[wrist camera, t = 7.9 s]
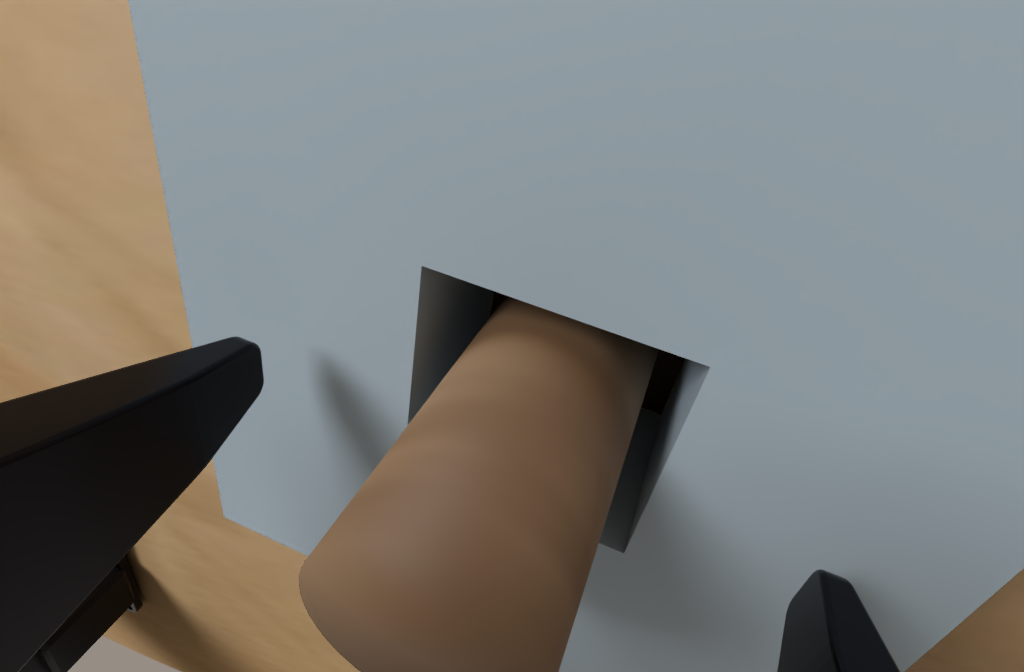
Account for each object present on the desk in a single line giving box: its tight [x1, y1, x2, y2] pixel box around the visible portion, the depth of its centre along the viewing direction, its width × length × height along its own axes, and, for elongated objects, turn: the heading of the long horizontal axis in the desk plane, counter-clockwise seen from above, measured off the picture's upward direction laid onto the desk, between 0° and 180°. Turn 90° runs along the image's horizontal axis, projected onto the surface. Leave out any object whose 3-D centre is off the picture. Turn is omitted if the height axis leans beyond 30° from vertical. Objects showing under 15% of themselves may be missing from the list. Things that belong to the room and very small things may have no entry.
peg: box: [299, 296, 659, 672], centre depth 10 cm, size 3×3×8 cm
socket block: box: [128, 0, 1024, 672], centre depth 12 cm, size 14×14×4 cm
